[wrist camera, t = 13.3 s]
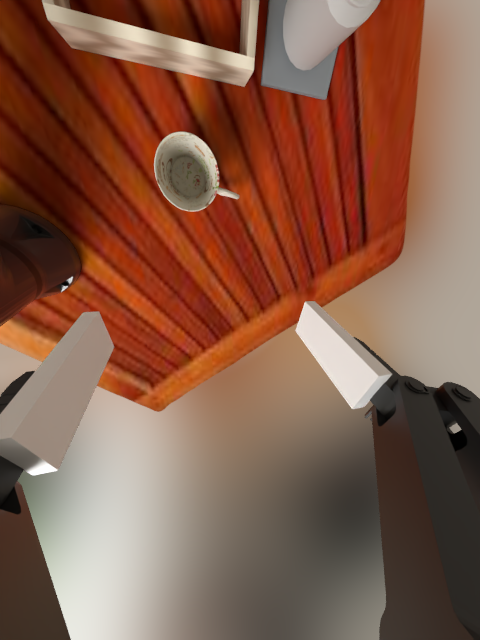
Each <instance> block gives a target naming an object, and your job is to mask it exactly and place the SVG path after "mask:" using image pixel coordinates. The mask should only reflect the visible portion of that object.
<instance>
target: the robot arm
mask: <svg viewBox="0 0 480 640" xmlns="http://www.w3.org/2000/svg"><path fill="white" fill-rule="evenodd" d="M80 271H81V263H80V259H79V256H78V253H77V251H76V249H75V248H74V246H73V244H72V243H71V242H70V240H69V239H68V238H67V237H66V236H65V235H64V234H63V233H62V232H61V231H60V230H59V229H58V228H57V227H55V226H54V225H53V224H51V223H50V222H48V221H47V220H45V219H44V218H42V217H40V216H38V215H36V214H34V213H32V212H30V211H27V210H24V209H21V208H18V207H14V206H9V205H0V326H2V325H3V324H4V323H5V322H7V321H8V320H9V319H10V318H12V317H13V316H14V315H16V314H17V313H18V312H19V311H21V310H22V309H23V308H24V307H26V306H27V305H28V304H30V303H31V302H32V301H33V300H35V299H39V298H43V297H47V296H51V295H55V294H58V293H61V292H63V291H65V290H66V289H68V288H69V287H70V286H71V285H73V284H74V283H75V282H76V280H77V279H78V277H79V275H80ZM296 332H297V334H298V335H299V336H300V338H301V339H302V340H303V342H304V343H305V345H306V346H307V348H308V349H309V350H310V351H311V353H312V354H313V356H314V357H315V359H316V360H317V361H318V363H319V364H320V365H321V367H322V368H323V369H324V371H325V372H326V373H327V375H328V376H329V378H330V379H331V380H332V382H333V383H334V385H335V386H336V387H337V389H338V390H339V392H340V393H341V394H342V396H343V397H344V398H345V400H346V401H347V402H348V404H349V405H350V406H351V408H352V409H356V408H361V407H364V406H365V405H366V404H367V403H368V402H369V401H371V402H372V403H373V404H374V405H373V406H372V407H371V408H370V410H369V411H368V412H367V413H366V414H365V418H368V417H369V415H371V414H372V418H371V419H370V420H371V421H372V425H373V435H374V449H375V460H376V461H375V462H376V472H377V473H376V475H377V486H378V499H379V512H380V524H381V537H382V550H383V562H384V575H385V586H386V608H385V611H384V613H383V615H382V618H381V622H380V640H480V399H479V398H478V397H477V396H476V395H475V394H474V393H472V392H471V391H469V390H468V389H467V388H465V387H463V386H461V385H458V384H455V383H452V382H446V383H444V384H443V385H442V386H440V387H439V388H434V387H427V386H425V385H424V384H423V383H421V382H420V381H418V380H416V379H414V378H412V377H408V376H400V375H399V374H398V373H397V372H396V371H394V370H393V369H392V368H391V367H390V366H389V365H388V364H387V363H386V362H384V361H383V360H382V359H381V358H380V357H379V356H378V355H376V353H374V351H372V350H370V348H369V347H368V346H367V345H366V344H365V343H364V342H362V341H360V340H359V339H357V338H355V337H352V336H351V335H350V334H349V333H348V332H347V331H346V330H345V329H344V328H343V327H342V326H340V325H339V324H338V323H337V322H336V321H335V320H334V319H333V318H332V317H331V316H330V315H328V313H327V312H325V311H324V310H323V309H322V308H321V307H320V306H319V305H318V304H317V303H316V302H315V301H307V302H305V303H304V306H303V310H302V313H301V316H300V319H299V322H298V325H297V328H296ZM113 349H114V345H113V343H112V341H111V338H110V336H109V334H108V331H107V329H106V327H105V324H104V322H103V320H102V318H101V315H100V313H99V312H83V313H82V315H81V316H80V317H79V318H78V319H77V321H76V322H75V323H74V324H73V326H72V327H71V328H70V329H69V330H68V332H67V333H66V334H65V335H64V337H63V338H62V339H61V340H60V342H59V343H58V344H57V345H56V346H55V348H54V349H53V350H52V351H51V353H50V354H49V355H48V356H47V357H46V359H45V360H44V361H43V362H42V364H41V365H40V366H39V367H38V369H37V370H36V371H31V372H26V373H25V374H23V375H22V376H20V377H19V378H18V379H16V380H15V381H13V382H12V383H11V384H10V385H9V386H8V387H7V388H6V390H5V391H4V392H3V393H2V394H1V397H0V640H71V639H70V636H69V633H68V630H67V626H66V623H65V620H64V617H63V614H62V611H61V608H60V604H59V601H58V598H57V595H56V592H55V589H54V586H53V582H52V580H51V576H50V573H49V570H48V567H47V564H46V561H45V558H44V554H43V551H42V548H41V545H40V542H39V539H38V536H37V532H36V529H35V526H34V523H33V520H32V517H31V514H30V511H29V508H28V505H27V502H26V498H25V495H24V492H23V489H22V486H21V484H20V483H19V482H18V481H17V480H18V478H19V477H20V475H21V473H22V472H23V470H24V471H26V472H28V473H29V474H31V475H38V474H43V473H47V472H53V471H57V470H58V469H59V467H60V465H61V463H62V461H63V458H64V456H65V454H66V452H67V450H68V447H69V445H70V443H71V441H72V439H73V437H74V434H75V432H76V430H77V428H78V426H79V423H80V421H81V419H82V417H83V415H84V412H85V410H86V408H87V406H88V404H89V401H90V399H91V397H92V395H93V393H94V390H95V388H96V386H97V384H98V382H99V379H100V377H101V375H102V373H103V371H104V368H105V366H106V364H107V362H108V360H109V357H110V355H111V353H112V351H113ZM456 423H458V425H459V426H460V427H461V429H462V430H460V431H459V432H457V433H455V434H454V433H453V432H452V431H451V430H450V428H449V427H451V426H452V425H454V424H456Z"/></svg>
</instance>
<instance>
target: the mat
mask: <svg viewBox="0 0 480 640" xmlns="http://www.w3.org/2000/svg"><path fill="white" fill-rule="evenodd" d="M286 3H287V0H269V2H268V13H267V24H266V35H265V45H264V56H263V67H262V78H261V86H266V87H270V88H274V89H279V90H283V91H287V92H292V93H296V94H300V95H305V96H309V97H313V98H317V99H322V100H325V99H326V97H327V93H328V89H329V84H330V80H331V76H332V71H333V67H334V63H335V59H336V54H337V50H338V47H337V48H336V49H334V50H333V51H332V52H331V53H330V54H329V55H328V56H327V57H326V58H325V59H324V60H323V61H321V62H320V63H319V64H318V65H317V66H315V67H314V68H312V69H311V70H304V71H303V70H301V69H298V68H296V67H295V66H294V65H293V63H292V62H291V61H290V59H289V57H288V55H287V52H286V50H285V44H284V39H283V19H284V13H285V7H286Z"/></svg>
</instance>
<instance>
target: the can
mask: <svg viewBox="0 0 480 640" xmlns="http://www.w3.org/2000/svg"><path fill="white" fill-rule="evenodd" d="M379 2H380V0H287V3H286V7H285V13H284V19H283V39H284V44H285V50H286V52H287V55H288V57H289V59H290V61H291V62H292V63H293V65H294V66H295V67H296V68H298V69H301V70H303V71H304V70H311V69H312V68H314V67H315V66H317V65H318V64H319V63H320V62H321V61H323V60H324V59H325V58H326V57H327V56H328V55H329V54H330V53H331V52H332V51H333V50H334V49H336V48H337V47H338V46H339V45H340V44H341V43H342V42H343V41H344V40H345V39H346V38H348V37H349V36H350V35H351V34H352V33H353V32H354V31H355V30H356V29H357V28H358V27H359V26H361V25H362V24H363V23H364V22H365V21H366V20H367V19H368V18H369V16H370V15H371V14H372V13H373V11H374V10H375V9H376V8H377V6H378V4H379Z"/></svg>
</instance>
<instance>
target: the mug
mask: <svg viewBox="0 0 480 640" xmlns="http://www.w3.org/2000/svg"><path fill="white" fill-rule="evenodd" d="M154 170H155V176H156V180H157V183H158V185H159V187H160V189H161V191H162V193H163V194H164V196H165V197H166V198H167V199H168V200H169V201H170V202H171V203H172V204H173V205H175V206H176V207H178V208H180V209H182V210H185V211H199V210H202V209H204V208H206V207H207V206H208V205H209V204H210V203H211V202H212V201H213V199H214V198H215V196H216V194H220V195H223V196H228V197H232V198H235V199H238V198H239V195H238V194H236V193H234V192H231V191H228V190H226V189H223V188H220V187H219V170H218V165H217V162H216V159H215V157H214V155H213V153H212V151H211V150H210V148H209V147H208V146H207V144H206V143H205V142H204V141H203V140H201V139H200V138H199V137H197V136H196V135H194V134H191V133H188V132H174V133H172V134H170V135H168V136H167V137H165V138H164V139H163V140H162V141H161V143H160V144H159V146H158V148H157V151H156V154H155V160H154Z"/></svg>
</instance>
